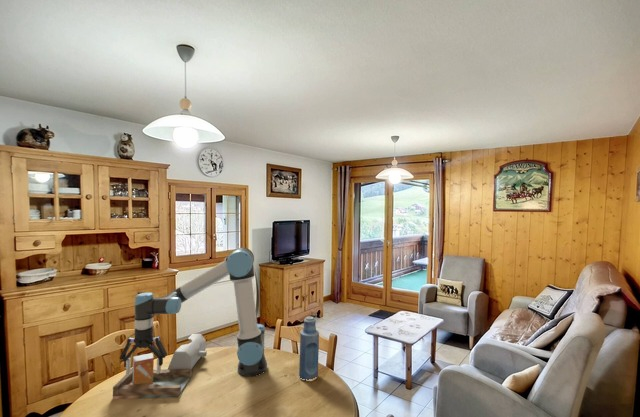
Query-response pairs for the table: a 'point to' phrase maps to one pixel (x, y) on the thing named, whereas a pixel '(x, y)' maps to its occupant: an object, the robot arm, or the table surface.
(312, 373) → the bottle
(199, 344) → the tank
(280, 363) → the table surface
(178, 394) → the board
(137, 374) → the small box
